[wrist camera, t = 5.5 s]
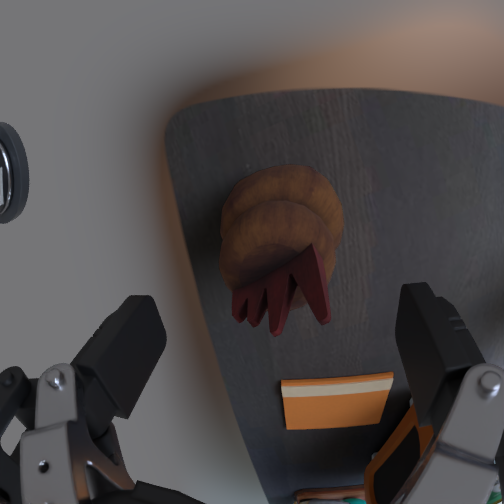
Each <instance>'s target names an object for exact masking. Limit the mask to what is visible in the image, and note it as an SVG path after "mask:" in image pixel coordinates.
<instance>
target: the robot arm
mask: <svg viewBox="0 0 504 504" xmlns="http://www.w3.org/2000/svg"><path fill="white" fill-rule="evenodd" d="M13 193H14V173H13V166H12V162H11V158H10V155H9V152H8V150H7V148H6V146H5V144H4V143H3V141H2V140H1V139H0V215H1V214H3V213H4V212H6V211H7V210H8V208H9V207H10V205H11V202H12V199H13ZM395 336H396V343H397V346H398V350H399V353H400V356H401V359H402V363H403V366H404V370H405V373H406V377H407V380H408V384H409V388H410V391H411V395H412V399H413V403H414V407H415V411H416V415H417V420H418V424H419V427H424V426H429V425H432V428H433V432H434V434H433V436H432V437H431V439H430V441H429V443H428V445H427V446H426V448H425V450H424V452H423V454H422V455H421V457H420V459H419V461H418V462H417V464H416V466H415V467H414V469H413V471H412V472H411V474H410V475H409V477H408V479H407V480H406V482H405V483H404V485H403V486H402V488H401V489H400V491H399V492H398V493H397V495H396V496H395V497H394V498H393V500H392V501H391V502H390V504H486V503H487V501H488V499H489V496H490V494H491V492H492V489H493V487H494V484H495V482H496V479H497V476H498V477H499V483H500V490H501V496H502V504H504V370H503V369H502V368H500V367H498V366H496V365H494V364H489V363H486V362H485V360H484V358H483V356H482V354H481V352H480V350H479V348H478V346H477V345H476V343H475V341H474V339H473V337H472V336H471V334H470V332H469V330H468V329H466V325H465V324H464V322H463V320H462V319H460V315H459V314H458V312H457V310H456V309H455V307H454V306H453V305H452V304H451V303H450V302H448V301H447V300H446V299H444V298H443V297H435V295H434V293H433V292H432V290H431V288H430V287H429V285H428V284H427V283H426V282H421V283H411V284H403V285H402V288H401V292H400V300H399V307H398V313H397V320H396V327H395ZM166 338H167V337H166V331H165V328H164V326H163V323H162V320H161V317H160V315H159V312H158V309H157V307H156V304H155V301H154V299H153V298H152V297H151V296H149V295H131V296H129V297H128V298H127V299H126V300H125V301H124V302H123V304H122V305H121V306H120V307H119V308H118V310H116V311H115V312H114V313H112V314H111V315H109V316H108V317H107V318H106V319H105V320H104V321H103V323H102V324H101V325H100V326H99V329H97V330H96V331H95V333H94V334H93V337H91V338H90V339H89V340H88V341H87V343H86V344H85V345H84V346H83V348H82V349H81V350H80V352H79V353H78V354H77V355H76V357H75V358H74V359H73V361H72V362H71V363H70V365H69V364H66V363H61V364H57V365H54V366H52V367H50V368H48V369H47V370H46V371H45V372H44V373H43V374H42V375H41V376H40V378H36V379H28V378H27V376H26V375H25V373H24V372H23V370H22V369H21V368H20V367H17V366H13V367H10V368H7V369H6V370H4V371H3V372H1V373H0V440H1V437H2V435H3V433H4V432H5V430H6V428H7V427H8V425H9V423H10V422H11V420H12V419H13V417H14V416H16V417H17V418H18V420H19V421H20V422H21V423H22V424H23V425H24V426H25V427H26V428H27V429H26V430H25V432H23V433H22V435H21V439H20V441H19V443H18V444H17V446H16V448H15V450H14V451H13V453H12V455H11V456H9V455H7V454H6V453H5V452H4V451H3V449H2V447H1V444H0V504H205V503H203V502H201V501H198V500H196V499H194V498H192V497H189V496H187V495H185V494H183V493H181V492H179V491H176V490H171V489H168V488H163V487H160V486H156V485H152V484H149V483H145V482H142V481H138V480H137V482H136V485H135V483H134V482H133V480H132V479H131V478H130V476H129V474H128V473H127V470H126V468H125V464H124V460H123V457H122V454H121V450H120V446H119V442H118V438H117V434H116V430H115V426H114V424H113V423H112V422H111V421H112V419H113V417H114V416H117V417H120V418H124V419H128V418H129V416H130V414H131V412H132V410H133V408H134V406H135V404H136V402H137V401H138V398H139V397H140V395H141V393H142V391H143V389H144V387H145V385H146V383H147V381H148V379H149V377H150V375H151V373H152V371H153V369H154V368H155V366H156V364H157V362H158V360H159V358H160V356H161V355H162V353H163V351H164V349H165V346H166V341H167V339H166ZM494 458H495V462H496V464H494Z"/></svg>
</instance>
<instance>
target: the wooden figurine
mask: <svg viewBox="0 0 504 504" xmlns="http://www.w3.org/2000/svg"><path fill="white" fill-rule="evenodd" d="M343 228H344V218H343V211H342V204H341V202H340V200H339V198H338V197H337V195H336V193H335V191H334V189H333V188H332V186H331V184H330V182H329V181H328V180H327V178H326V177H324V176H323V175H321V174H320V173H319V172H317V171H316V170H314V169H313V168H312V167H310V166H302V165H293V164H288V165H281V166H274V167H270V168H267V169H264V170H260V171H257V172H255V173H254V174H252V175H250V176H248V177H246V178H244V179H242V180H240V181H239V182H238V183H237V184H236V185H235V186H234V188H233V190H232V191H231V193H230V195H229V197H228V199H227V200H226V202H225V204H224V206H223V208H222V217H221V228H220V234H221V237H222V240H223V242H222V245H221V251H220V257H219V270H220V272H221V275H222V277H223V280H224V282H225V285H226V286H227V288H228V289H229V290H230V291H231V292H232V293H233V295H232V316H233V317H234V318H235V319H236V321H237V322H238V323H241V322H243V321H244V320H245V318H246V317H247V321H248V322H249V323H250V324H251V325H252V327H256V326H258V325H259V324H260V322H261V320H262V318H263V316H264V314H265V312H266V311H268V314H269V327H270V332H271V334H272V335H273V336H274V337H276V336H278V335H280V334H281V333H282V330H283V328H284V325H285V322H286V319H287V316H288V313H289V311H291V310H294V309H297V308H300V307H302V306H304V305H306V304H307V303H308V304H309V306H310V308H311V310H312V312H313V313H314V315H315V317H316V319H317V320H318V322H319V323H320V324H321V325H325V324H327V323H329V322H330V320H331V312H330V303H329V295H328V288H327V285H328V283H329V281H330V280H331V276H332V273H333V270H334V267H335V264H336V255H335V250H336V249H337V247H338V246H339V244H340V242H341V237H342V233H343Z"/></svg>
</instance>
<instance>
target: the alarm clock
mask: <svg viewBox="0 0 504 504" xmlns="http://www.w3.org/2000/svg"><path fill="white" fill-rule="evenodd" d="M433 434H434V432H433V428H432V425H429V426H424V427H419V424H418V420H417V415H416V411H415V407H414V403H413V399H412V398H411V400H410V408H409V410H408V412H407V413H406V415H405V416H404V418H403V419H402V420H401V422H400V423H399V425H398V426H397V428H396V429H395V430H394V432H393V433H392V435H391V436H390V437H389V439H388V440H387V441H386V443H385V444H384V445H383V447H382V448H381V449H380V451H379V452H377V453H373V455H372V461H371V462H370V463H369V464H368V465H367V467H366V469H365V473H364V491H365V500H366V504H390V502H391V501H392V500H393V498H394V497H395V496H396V495H397V493H398V492H399V491H400V489H401V488H402V486H403V485H404V483H405V482H406V480H407V479H408V477H409V475H410V474H411V472H412V471H413V469H414V467H415V466H416V464H417V462H418V461H419V459H420V457H421V455H422V454H423V452H424V450H425V448H426V446H427V445H428V443H429V441H430V439H431V437H432V436H433Z"/></svg>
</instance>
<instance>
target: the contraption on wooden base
mask: <svg viewBox="0 0 504 504" xmlns="http://www.w3.org/2000/svg"><path fill="white" fill-rule="evenodd" d="M296 503H298V504H366V500H365V491H364V485H356V486H346V487H334V488H317V489H302V490H299V491H296V492H295V502H294V504H296Z"/></svg>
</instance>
